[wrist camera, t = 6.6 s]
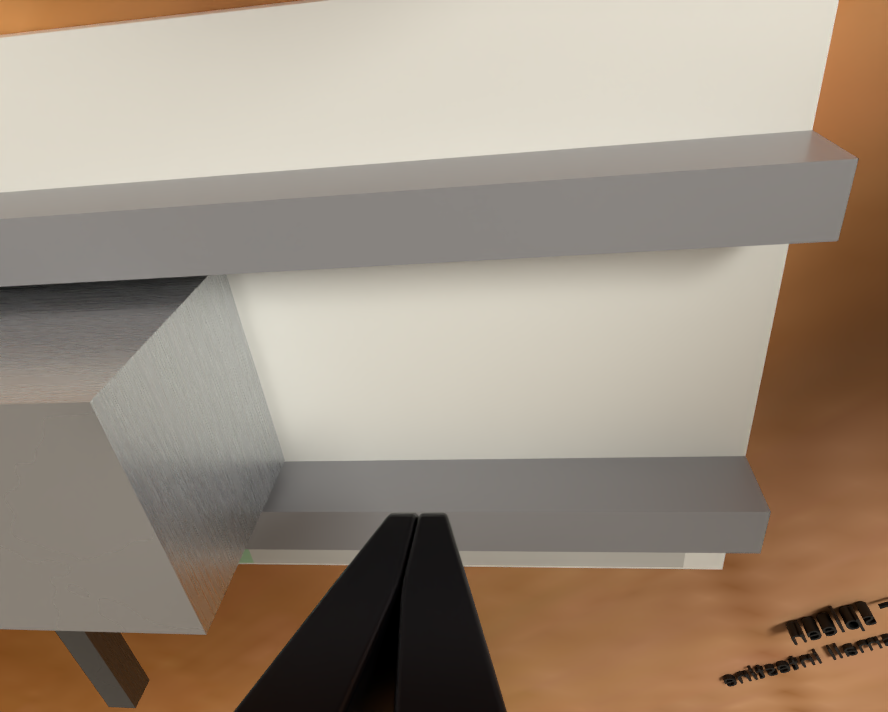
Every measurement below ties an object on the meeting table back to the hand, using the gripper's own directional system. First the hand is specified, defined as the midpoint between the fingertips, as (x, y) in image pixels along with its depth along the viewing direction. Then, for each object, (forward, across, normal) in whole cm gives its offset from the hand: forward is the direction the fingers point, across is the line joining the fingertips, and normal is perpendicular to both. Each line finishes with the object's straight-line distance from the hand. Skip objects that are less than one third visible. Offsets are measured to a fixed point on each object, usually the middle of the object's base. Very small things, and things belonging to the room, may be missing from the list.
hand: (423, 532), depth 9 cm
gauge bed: (+6, +7, 0) cm, 9 cm away
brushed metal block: (+4, +7, +1) cm, 8 cm away
